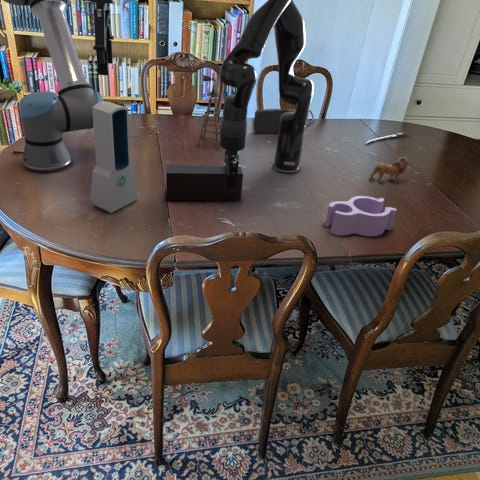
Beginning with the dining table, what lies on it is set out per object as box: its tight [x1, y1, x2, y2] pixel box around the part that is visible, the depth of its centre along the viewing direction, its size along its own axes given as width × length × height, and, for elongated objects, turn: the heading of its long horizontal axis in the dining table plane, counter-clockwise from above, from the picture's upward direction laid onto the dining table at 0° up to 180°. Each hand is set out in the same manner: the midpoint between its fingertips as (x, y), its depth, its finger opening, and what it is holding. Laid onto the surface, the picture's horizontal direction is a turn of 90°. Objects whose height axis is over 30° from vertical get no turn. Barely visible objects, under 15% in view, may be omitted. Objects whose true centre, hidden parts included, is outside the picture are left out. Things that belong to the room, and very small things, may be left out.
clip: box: [324, 195, 398, 237], centre depth 141 cm, size 20×12×7 cm, turn 109°
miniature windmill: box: [197, 67, 222, 150], centre depth 180 cm, size 9×8×30 cm
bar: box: [165, 164, 244, 202], centre depth 146 cm, size 23×5×9 cm, turn 98°
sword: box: [365, 132, 410, 145], centre depth 213 cm, size 31×3×1 cm, turn 126°
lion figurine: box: [368, 156, 409, 184], centre depth 171 cm, size 15×5×9 cm, turn 110°
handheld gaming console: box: [252, 108, 296, 134], centre depth 205 cm, size 23×3×10 cm, turn 108°
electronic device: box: [89, 101, 139, 214], centre depth 133 cm, size 12×8×30 cm, turn 148°
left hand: (105, 68), depth 134 cm, fingers open, 13 cm apart
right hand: (229, 182), depth 148 cm, fingers closed on bar, 5 cm apart
